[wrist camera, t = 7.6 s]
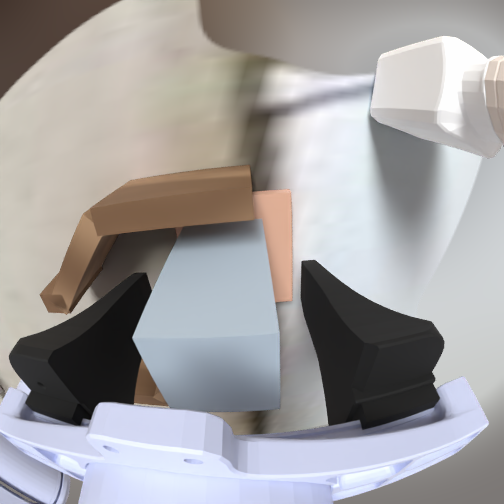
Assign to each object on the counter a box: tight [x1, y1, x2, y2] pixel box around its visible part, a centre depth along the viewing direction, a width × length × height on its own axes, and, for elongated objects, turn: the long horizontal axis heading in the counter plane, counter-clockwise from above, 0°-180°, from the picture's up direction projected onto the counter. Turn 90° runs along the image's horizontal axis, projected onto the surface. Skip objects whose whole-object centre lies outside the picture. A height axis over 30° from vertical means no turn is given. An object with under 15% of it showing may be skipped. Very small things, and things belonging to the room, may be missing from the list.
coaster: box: [175, 189, 292, 302], centre depth 15 cm, size 7×6×1 cm
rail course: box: [40, 165, 254, 406], centre depth 14 cm, size 13×12×4 cm
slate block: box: [132, 219, 280, 412], centre depth 11 cm, size 4×4×8 cm
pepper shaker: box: [370, 36, 504, 158], centre depth 7 cm, size 4×4×10 cm
